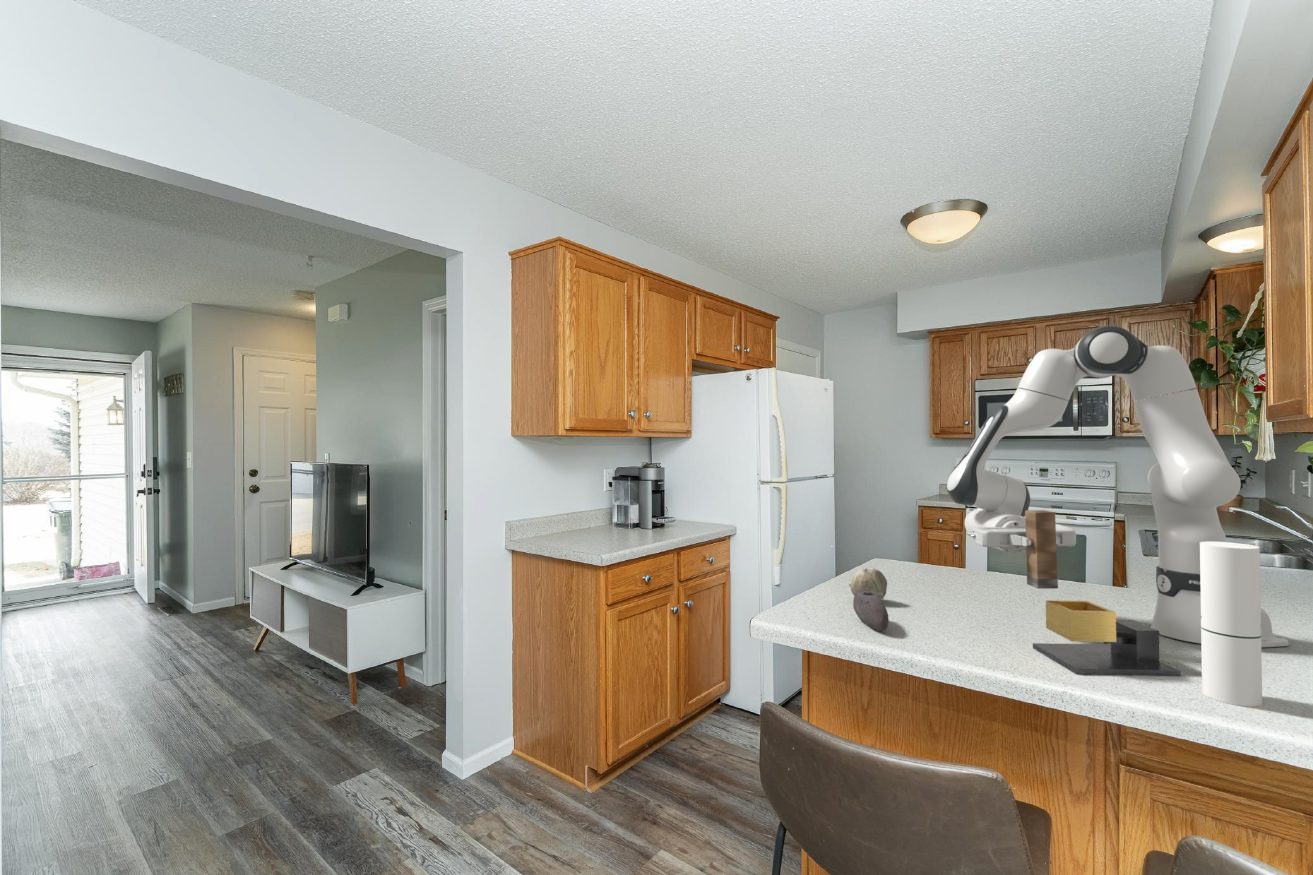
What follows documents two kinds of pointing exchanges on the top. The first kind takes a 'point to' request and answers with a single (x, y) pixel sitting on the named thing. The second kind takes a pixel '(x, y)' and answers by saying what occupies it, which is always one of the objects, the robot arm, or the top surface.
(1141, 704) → the top surface
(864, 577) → the garlic bulb
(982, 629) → the top surface
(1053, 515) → the rail post
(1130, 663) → the cup bracket
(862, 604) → the perforated stone tool
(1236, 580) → the cylindrical container
